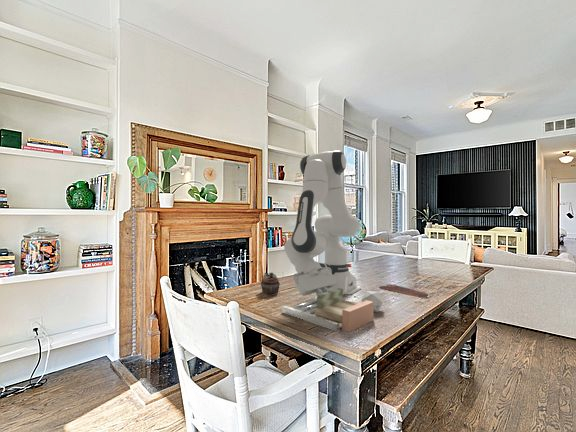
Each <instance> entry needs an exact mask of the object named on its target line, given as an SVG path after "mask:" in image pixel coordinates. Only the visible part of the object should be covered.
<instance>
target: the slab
mask: <svg viewBox="0 0 576 432" xmlns="http://www.w3.org/2000/svg"><path fill="white" fill-rule="evenodd" d="M316 296H317V307H316V308H315V314H316V315H319V316H322V317H325V318H328V319H331V320H335V321H338V323H339V322H341V323H342V310H343V309H345V308H348V307H350V306H353V305H356V304H358V303H356V302H352V301H348V300H344V294H343V289H340V288H338V289H335V290H331V291H328V292H325V293H324V292H322V293H321V294H318V295H317V294H316Z"/></svg>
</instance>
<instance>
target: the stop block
mask: <svg viewBox="0 0 576 432" xmlns="http://www.w3.org/2000/svg"><path fill="white" fill-rule="evenodd" d="M373 309H374V302H372V301H368V300H366V301H363V302H362V301H361V302H359V303H357V304H356V305H353V306H350V307H348V308H345V309H343V310H342V328H341V330H342V331H345V332H348V333H349V332H352V331H354V330H356V329H359V328H360V327H363V326H365V325H366V324H368V323H371V322H373V321H374V312H373Z"/></svg>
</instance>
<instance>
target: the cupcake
mask: <svg viewBox="0 0 576 432" xmlns="http://www.w3.org/2000/svg"><path fill="white" fill-rule="evenodd" d="M280 283H281V282H280V281H279V278H278V277H277V274H274V272H264V274H263V277H262V280H261V281H260V287H261V291H262V294H263V295H267V296H268V295H270V296H272V295H273V294H274V295H277V294H279V290H280ZM274 295H273V296H274Z"/></svg>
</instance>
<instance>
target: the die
mask: <svg viewBox="0 0 576 432" xmlns="http://www.w3.org/2000/svg"><path fill="white" fill-rule="evenodd" d="M366 300H368V301H372V302H374V309H373V313H379V312H380V309H381V307H382V305H383V300H382V297H381V293H380V291H374V290H373V291H372V290H366V291H365V293H364V295H363V296H362V298H361V302H363V301H366Z"/></svg>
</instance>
